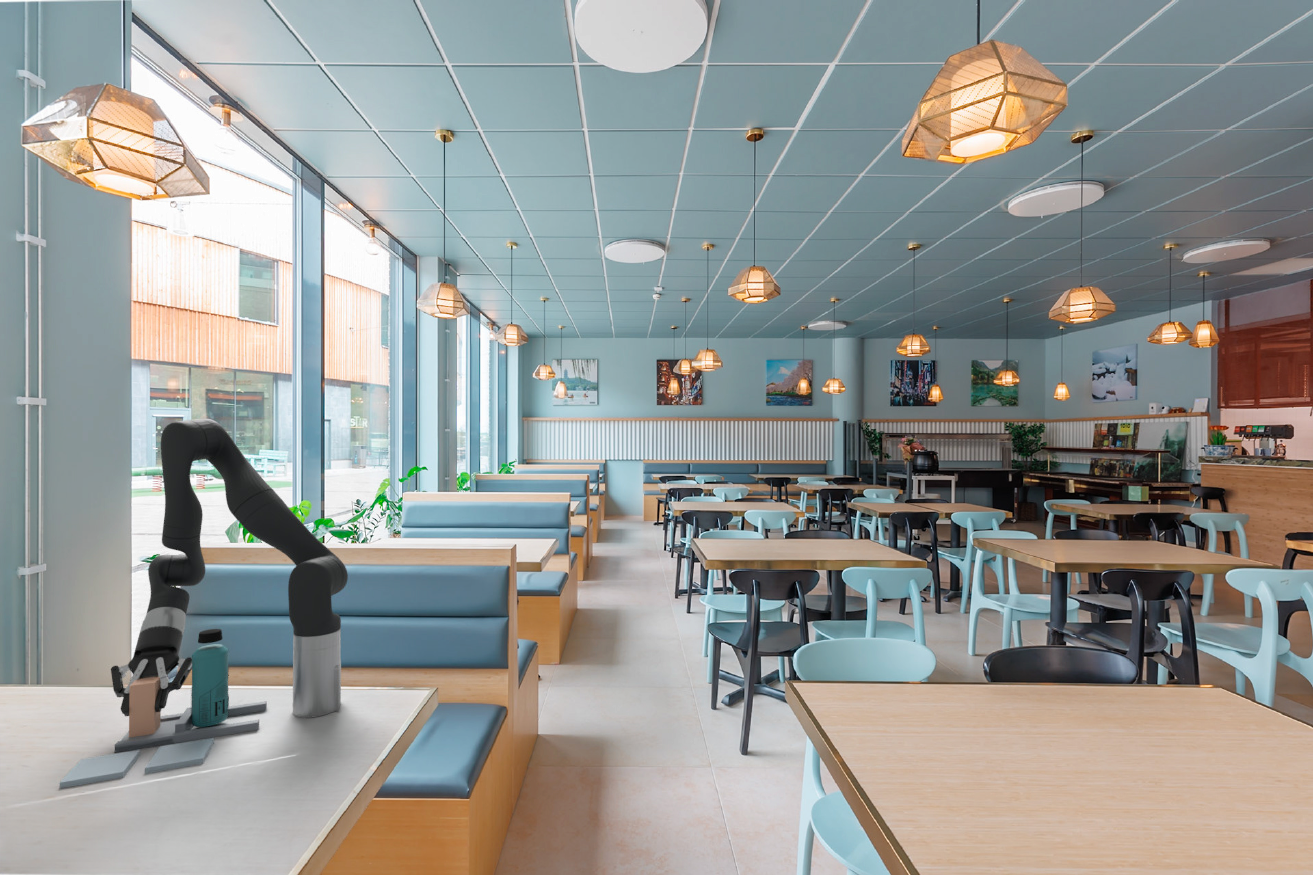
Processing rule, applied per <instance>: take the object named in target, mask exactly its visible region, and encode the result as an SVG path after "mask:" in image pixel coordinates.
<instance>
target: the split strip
mask: <svg viewBox="0 0 1313 875" xmlns="http://www.w3.org/2000/svg"><path fill="white" fill-rule="evenodd" d="M214 744H215V737H211V738H204V739H198V740H192V741H186V742H179V743H173V744H167V745H161V746H158V748H157V750H156V751H155V753H154V754H153V756H152V757H151V759H150V760H149V762H148V763H147V764H146V765H145V767H144V774H151V773H155V772H156V773H157V772H162V771H166V770H174V769H179V768H184V767H190V766H196V765H201V764H204V762H205V761H206V759H207V757H208V755H209V754H210V751H211V749H212V747H213V746H214ZM140 756H141V749H136V750H130V751H123V752H117V753H111V754H105V755H100V756H93V757H85V758H81V759H80V760H79V761H78V762H77V763H76V765H75V766H74V767H73V768H72V769H71V770H70V771H69V772H68V773H67V774H65V776H64V777H63V778H62V779H61V780H60V782H59V789H64V788H68V787H76V786H81V785H87V784H92V783H98V782H104V781H109V780H115V779H116V780H117V779H120V778H121V779H123V778H124V777H125V776H126V774H127V773H129V771H130V769H131V768H132V767H133V766H134V764H135V762H136V761H137V760H138V758H139V757H140Z"/></svg>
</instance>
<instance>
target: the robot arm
mask: <svg viewBox="0 0 1313 875" xmlns="http://www.w3.org/2000/svg"><path fill="white" fill-rule="evenodd" d="M160 454H161V455H160V457H161V467H162V478H163V479H162V480H163V486H164V487H163V489H164V517H163V525H162V526H163V527H162V534H161V543H162V545H163V546H164V547H165V548H166V549H170V550H174V551H178V552H181V553H184V555H181V554H162V555H158V556H156V557H155V558H154V559H152V560H151V561H150V563H149V565H148V569H147V570H148V571H147V572H148V579H149V580H148V581H149V585H150V586H149V587H150V598H149V603H148V607H147V610H146V614H145V617H144V620H143V621H142V623H141V627H140V629H139V634H138V637H137V642H136V646H135V650H134V653H133V657H132V659H131V660H129V662H128V663H127V664H125V665H121V666H118V665H113V666H112V667H111V668H110V674H111V681H112V687H113V688H112V689H113V692H114V694H115V696H116V697H117V698H122V701H121V706H120V711H121V714H122V715H124V717H129V697H130V685H131V684H132V683H133V682H134V681H135V680H138V679H142V678H150V677H158V676H159V677H160V687H161V689H160V690H158V694H157V698H156V703H155V711H156V712H161V711H162V709H165V708H166V707H167V703H168V698H169V694H170V692H172V691H179V690H181V689H182V687H183V685H184V683H185V682H186V679H187V678H188V677H189V674H190V673H191V672H192V656H191V657H190V656H188V657H187V658H181V657H180V651H181V646H182V641H183V637H184V634H185V628H186V616H187V613H188V608H189V603H190V594H189V592H188V591H187V590H185V589H184V588H180V587H194V586H196V585H198V584H200V583H201V582H202V580H203V579H204V577H205V576H206V563H205V558H204V556H203V552H202V547H201V533H202V532H201V531H202V524H203V508H202V505H201V502H200V500H199V498H198V496H197V494H196V493H195V491H194V488H193V486H192V483H191V469H192V466H193V462H196V461H201V460H202V461H203V460H206V461H207V462H208V463H210V464H211V465H212V466H213V467H214V468H215V470H216V471H217V472H218V473H219V474H220V476H221V478H222V479H223V482H224V490H225V500H226V504H227V508H228V510H229V512H230V513H231V514H232V515H233V517H234V518H235V519H236V520H237V522H238V523H240V525H241V526H242V527H243V528H244V529H245V530H246V531H247V532H248V533H249V534H250V535H252V536H253V537H255V538H257V539H258V540H260V541H262V542H263V543H265V544H267V545H268V546H271V547H272V548H274V549H276V550H278V551H280V552H281V553H283V554H284V555H285V556H286V557H288V559H290V560H291V561H292V563H293V564H294V565H295V567H294V568H293V569H292V570H291V572H290V575H289V578H288V587H287V592H288V594H287V595H288V616H289V621H290V623H291V625H292V628H293V629H292V630H293V640H292V652H293V653H292V665H293V666H292V715H293V716H294V717H297V718H306V719H307V718H315V717H321V716H324V715H328V714H330V713H334V712H337V711H341V710H340V708H341V701H342V700H341V698H342V697H341V695H342V693H341V691H342V688H341V687H342V686H341V684H342V682H341V681H342V680H341V679H342V678H341V677H342V676H341V675H342V659H341V640H342V639H341V635H342V634H341V630H342V628H341V627H342V626H341V624H342V620H341V616H340V615H339V614H337V613H334V612H333V606H332V597H333V596H334V595H336V594H338V593H340V592H341V591H342V590H344V588H346V585H347V583H348V579H349V578H348V577H349V576H348V574H349V573H348V570H347V567H346V565H345V564H344V562H343V561H342V560H341V559H340V558H339V557H338V556H337V555H336V554H335V553H334V552H333V551H331V550H330V549H329V548H328V547H327V546H326V545H324V544H323V543H322V542H321V541H320V540H319V539H318V538H317V537H316V536H315V535H314V534H313V533H311V531H310V530H309V528H307V527H306V525H305V524H304V523H303V522H302V521H301V520H300V519H299V518H298V516H297V515H296V514H295V513H294V512H293V511H292V510H291V509H290V508H289V506H288V505H287V504H286V503H285V502H284V500H283V499H282V498H281V496H279V495H278V493H277V492H276V491H275V490H274V489H273V488H272V487H271V486H270V485H269V484H268V483H267V482H266V481H265V480H264V478H263V477H262V476H261V475H260V474H259V473H258V471H257V470H256V469H255V468H254V467H253V466H252V464H251V463H250V462H249V460H247V458H246V457H245V456H244V454H243V453H242V451H241V450H240V449H239V447H238V445H237V444H236V443H235V441H234V440H233V439H232V437H231V435H229V433H228V432H227V430H226V429H225V428H224V426H222V425H221V424H220V423H219V422H218V421H216V420H214V419H210V418H195V419H193V418H192V419H186V420H177V421H173V422H169V423H168V424H167V425H166V426H165V427H164V428H163V430H162V433H161V436H160ZM177 666H178V668H179V669H178V671H177V673H176V674H175V676H174V678H173V680H172V681H170V680H169V674H170V673H171V672H172V671H173V670H175V668H177ZM129 671H130V672H131V674H132V676H131V678H130V679H129V682H128V684H127V686H126V687H124V681H123V678H125V677H126V675H127V673H128V672H129Z"/></svg>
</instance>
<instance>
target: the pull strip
mask: <svg viewBox="0 0 1313 875" xmlns="http://www.w3.org/2000/svg"><path fill="white" fill-rule="evenodd" d="M160 689H161V687H160V677H159V676H158V677H150V678H142V679H138V680H135V681H134V682H133V683H132V684H131V685H130V697H129V716H128V731H127V733H125V735H124V736H123V737H122V738H121V740H118V741H116V742H115V744H114V754H117V753H123V752H129V751H135V750H143V749H147V748H152V747H153V748H154V747H160V746H166V745H173V744H179V743H185V742H191V741H197V740H204V739H210V738H216V737H223V736H229V735H233V734H234V735H235V734H240V733H246V732H254V731H258V730H260V729H259V728H260V719H254V720H246V721H241V722H234V723H227V724H220V725H213V726H206V727H200V728H195V729H192V728H193V727H194V726H193V725H192V722H191V706H190V707H187V708H186V709H185V710H184V712H181V713H177V714H176V713H175V714H168V715H162V713H161V712H156V711H155V703H156V698H157V694H158V690H160ZM267 706H268V704H267V700H266V701H265V700H263V701H258V702H251V703H244V704H243V703H242V704H237V705H229V706H228V716H227V717H231V716H239V715H240V716H241V715H246V714H253V713H259V712H266V711H267V708H268V707H267Z"/></svg>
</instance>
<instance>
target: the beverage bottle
mask: <svg viewBox="0 0 1313 875" xmlns="http://www.w3.org/2000/svg"><path fill="white" fill-rule="evenodd" d="M222 640H223V631H222V629H220V628H212V629H211V628H210V629H205V630H202V631H199V632H198V640H197V643H198V644H206V645H203V646H200V647H198V648H197V649H196V650H195V651H193V653H192V654H191V658H192V670H191V694H190V697H191V705H190V707H191V722H192V725H193V727H195V728H206V727H212V726H216V725H218V724H220V723H222V722H225V721H226V720H228V717H229V716H228V707H229V706H230V702H229V701H230V700H229V699H230V695H229V676H230V673H229V648H228V647H226V646H225V645H223V644H220V643H219V644H218V643H216V642H219V641H222ZM211 643H215V644H211ZM207 644H208V645H207Z"/></svg>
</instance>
